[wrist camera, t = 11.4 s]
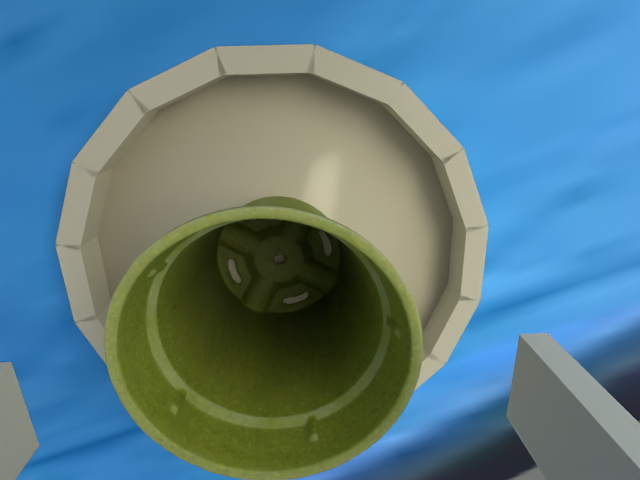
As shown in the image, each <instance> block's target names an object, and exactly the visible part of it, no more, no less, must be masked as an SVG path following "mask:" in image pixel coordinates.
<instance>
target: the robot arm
mask: <svg viewBox="0 0 640 480" xmlns="http://www.w3.org/2000/svg"><path fill="white" fill-rule="evenodd" d="M506 417H507V418H508V420H509V421H510V423H511V425H512V426H513V428H514V429H515V431H516V432H517V434H518V436H519V437H520V439H521V440H522V442H523V443H524V445H525V447H526V448H527V450H528V451H529V453H530V455H531V456H532V458H533V459H534V461H535V462H536V464H537V466H538V467H539V469H540V470H541V472H542V473H543V475H544V477H545V478H546V480H640V423H639V422H638V421H637V420H635V419H634V418H633V417H632V416H631V415H630V414H629V413H628V412H627V411H626V410H625V409H624V408H623V407H622V406H621V405H620V404H619V403H618V402H617V401H616V400H615V399H614V398H613V397H612V396H611V395H610V394H609V393H608V392H607V391H606V390H605V389H604V388H603V387H602V386H601V385H600V384H599V383H598V382H597V381H596V380H595V379H594V378H593V377H592V376H591V375H590V374H589V373H588V372H587V371H586V370H585V369H584V368H583V367H582V366H581V365H580V364H579V363H578V362H577V361H576V360H575V359H574V358H573V357H572V356H571V355H570V354H569V353H568V352H567V351H566V350H565V349H564V348H563V347H562V346H561V345H560V344H559V343H557V342H556V341H555V340H554V339H553V338H552V337H551V336H550V335H549V334H548V333H536V334H520V335H519V341H518V348H517V354H516V360H515V366H514V372H513V379H512V385H511V391H510V397H509V404H508V410H507V416H506ZM38 447H39V443H38V440H37V437H36V434H35V431H34V428H33V425H32V422H31V419H30V416H29V413H28V410H27V407H26V404H25V401H24V398H23V395H22V392H21V389H20V386H19V383H18V380H17V377H16V374H15V371H14V368H13V365H12V362H0V480H16V478H17V477H18V475H19V474H20V472H21V471H22V470H23V468H24V467H25V465H26V464H27V463H28V461H29V460H30V458H31V457H32V455H33V454H34V453H35V451H36V450H37V448H38Z"/></svg>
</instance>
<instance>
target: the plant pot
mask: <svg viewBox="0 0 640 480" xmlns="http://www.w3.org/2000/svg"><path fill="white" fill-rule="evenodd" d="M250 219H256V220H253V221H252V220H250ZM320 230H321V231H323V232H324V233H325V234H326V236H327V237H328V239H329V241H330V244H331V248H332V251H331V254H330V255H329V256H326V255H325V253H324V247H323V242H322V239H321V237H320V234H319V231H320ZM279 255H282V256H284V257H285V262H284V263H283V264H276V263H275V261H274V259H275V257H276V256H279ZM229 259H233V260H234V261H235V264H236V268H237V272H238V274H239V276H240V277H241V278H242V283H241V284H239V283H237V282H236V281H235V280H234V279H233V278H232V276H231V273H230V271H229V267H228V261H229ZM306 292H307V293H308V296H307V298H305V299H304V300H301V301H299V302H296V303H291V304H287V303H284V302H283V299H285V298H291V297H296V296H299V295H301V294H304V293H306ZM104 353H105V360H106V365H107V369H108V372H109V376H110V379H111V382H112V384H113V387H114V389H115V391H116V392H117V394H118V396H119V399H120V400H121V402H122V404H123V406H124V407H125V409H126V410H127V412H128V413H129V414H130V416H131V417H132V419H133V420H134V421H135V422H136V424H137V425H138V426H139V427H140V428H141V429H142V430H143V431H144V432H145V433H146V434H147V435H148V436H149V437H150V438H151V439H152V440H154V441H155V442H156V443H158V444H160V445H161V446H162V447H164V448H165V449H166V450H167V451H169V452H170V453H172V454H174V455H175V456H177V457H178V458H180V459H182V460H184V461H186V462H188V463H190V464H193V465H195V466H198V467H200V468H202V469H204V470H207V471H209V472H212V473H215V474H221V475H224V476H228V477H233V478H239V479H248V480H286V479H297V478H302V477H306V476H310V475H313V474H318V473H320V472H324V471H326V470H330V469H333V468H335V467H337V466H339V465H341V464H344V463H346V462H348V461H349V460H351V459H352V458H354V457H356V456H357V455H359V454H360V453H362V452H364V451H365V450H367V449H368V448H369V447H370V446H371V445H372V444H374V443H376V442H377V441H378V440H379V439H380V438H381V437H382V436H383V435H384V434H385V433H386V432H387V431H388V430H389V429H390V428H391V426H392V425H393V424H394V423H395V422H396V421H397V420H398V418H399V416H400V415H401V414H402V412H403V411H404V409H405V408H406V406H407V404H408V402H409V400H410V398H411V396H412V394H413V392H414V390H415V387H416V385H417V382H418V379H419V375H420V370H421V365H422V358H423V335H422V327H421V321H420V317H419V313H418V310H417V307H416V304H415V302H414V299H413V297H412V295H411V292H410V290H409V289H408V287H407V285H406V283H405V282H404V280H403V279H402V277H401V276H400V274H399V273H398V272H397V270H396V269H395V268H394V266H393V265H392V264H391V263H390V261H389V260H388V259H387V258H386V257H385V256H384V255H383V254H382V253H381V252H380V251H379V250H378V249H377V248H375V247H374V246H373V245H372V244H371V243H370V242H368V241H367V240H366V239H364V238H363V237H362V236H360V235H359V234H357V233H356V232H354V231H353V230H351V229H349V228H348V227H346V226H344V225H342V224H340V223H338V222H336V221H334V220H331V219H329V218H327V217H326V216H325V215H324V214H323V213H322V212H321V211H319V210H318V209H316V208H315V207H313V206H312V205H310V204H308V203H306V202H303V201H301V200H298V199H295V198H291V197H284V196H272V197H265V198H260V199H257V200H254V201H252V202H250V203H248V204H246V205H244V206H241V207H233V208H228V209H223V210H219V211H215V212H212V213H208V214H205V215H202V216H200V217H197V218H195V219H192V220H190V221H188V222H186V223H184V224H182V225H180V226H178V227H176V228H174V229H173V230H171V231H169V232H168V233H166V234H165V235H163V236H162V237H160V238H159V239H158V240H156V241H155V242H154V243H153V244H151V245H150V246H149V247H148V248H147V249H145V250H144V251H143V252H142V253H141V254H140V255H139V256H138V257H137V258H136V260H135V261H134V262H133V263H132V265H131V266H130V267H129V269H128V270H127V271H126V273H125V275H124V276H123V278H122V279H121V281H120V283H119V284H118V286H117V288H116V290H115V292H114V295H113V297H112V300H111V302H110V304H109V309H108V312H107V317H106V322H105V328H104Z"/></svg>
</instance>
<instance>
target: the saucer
mask: <svg viewBox="0 0 640 480" xmlns="http://www.w3.org/2000/svg"><path fill="white" fill-rule="evenodd" d="M272 196H284V197H291V198H295V199H298V200H301V201H303V202H306V203H308V204H310V205H312V206H313V207H315V208H316V209H318V210H319V211H321V212H322V213H323V214H324V215H325V216H326V217H327V218H329V219H331V220H334V221H336V222H338V223H340V224H342V225H344V226H346V227H348V228H349V229H351V230H353V231H354V232H356V233H357V234H359V235H360V236H362V237H363V238H364V239H366V240H367V241H368V242H370V243H371V244H372V245H373V246H374V247H375V248H377V249H378V250H379V251H380V252H381V253H382V254H383V255H384V256H385V257H386V258H387V259H388V260H389V261H390V263H391V264H392V265H393V266H394V268H395V269H396V270H397V272H398V273H399V274H400V276H401V277H402V279H403V280H404V282H405V283H406V285H407V287H408V289H409V290H410V292H411V295H412V297H413V299H414V302H415V304H416V307H417V310H418V313H419V317H420V321H421V327H422V335H423V358H422V365H421V370H420V375H419V379H418V382H417V385H416V387H415V390H416V389H417V388H418V387H419V386H420V385H422V384H423V383H424V382H425V381H426V380H427V379H429V378H430V377H431V376H432V375H433V374H434V373H436V372H437V371H438V370H439V369H440V368H441V367H443V366H444V365H445V363H446V362H447V360H448V359H449V357H450V355H451V353H452V351H453V350H454V348H455V346H456V344H457V342H458V340H459V339H460V337H461V335H462V333H463V331H464V330H465V328H466V326H467V324H468V322H469V320H470V319H471V317H472V315H473V313H474V311H475V309H476V308H477V306H478V304H479V302H480V301H479V300H481V291H482V282H483V273H484V264H485V254H486V245H487V236H488V227H489V226H487V225H488V222H487V219H486V215H485V212H484V209H483V206H482V203H481V200H480V197H479V194H478V190H477V187H476V184H475V181H474V178H473V175H472V172H471V169H470V166H469V162H468V159H467V156H466V153H465V150H464V149H463V146H462V145H461V144H460V143H459V142H458V141H457V140H456V139H455V138H454V137H453V135H452V134H451V133H450V132H449V131H448V130H447V129H446V128H445V127H444V126H443V125H442V123H441V122H440V121H439V120H438V119H437V118H436V117H435V116H434V115H433V114H432V113H431V111H430V110H429V109H428V108H427V107H426V106H425V105H424V104H423V103H422V102H421V100H420V99H419V98H418V97H417V96H416V95H415V94H414V93H413V92H412V91H411V90H410V88H409V87H408V86H407V85H406V84H405V83H402V81H400V80H398V79H395V78H393V77H391V76H388V75H386V74H384V73H381V72H379V71H377V70H374V69H372V68H370V67H367V66H365V65H362V64H360V63H358V62H355V61H353V60H351V59H348V58H346V57H344V56H341V55H339V54H337V53H334V52H332V51H330V50H327V49H325V48H323V47H320V46H318V45H315V47H314V44H303V45H259V46H216V48H215V47H213V48H211V49H209V50H207V51H205V52H203V53H201V54H199V55H197V56H195V57H193V58H191V59H189V60H187V61H185V62H183V63H181V64H179V65H177V66H175V67H173V68H171V69H169V70H167V71H165V72H163V73H160V74H158V75H156V76H154V77H152V78H150V79H148V80H146V81H144V82H142V83H140V84H138V85H136V86H134V87H132V88H130V89H129V91H126V92H125V94H124V95H123V96H122V98H121V99H120V100H119V102H118V103H117V104H116V105H115V107H114V108H113V109H112V111H111V112H110V113H109V114H108V116H107V117H106V118H105V120H104V121H103V122H102V124H101V125H100V126H99V127H98V129H97V130H96V131H95V133H94V134H93V135H92V136H91V138H90V139H89V140H88V142H87V143H86V144H85V146H84V147H83V148H82V149H81V151H80V152H79V153H78V155H77V156H76V157H75V158H74V160H73V163H71V168H70V173H69V178H68V183H67V188H66V193H65V198H64V203H63V208H62V213H61V218H60V223H59V228H58V233H57V238H56V243H55V244H57V245H56V250H57V254H58V258H59V262H60V266H61V270H62V274H63V278H64V282H65V286H66V290H67V294H68V298H69V302H70V306H71V310H72V314H73V318H74V322H76V321H77V322H76V323H75V324H76V325H77V326H78V328H79V329H80V330H81V332H82V333H83V334H84V336H85V337H86V338H87V340H88V341H89V342H90V344H91V345H92V346H93V348H94V349H95V350H96V352H97V353H98V354H99V356H100V357H101V358H102V360H103V361H104V362H105V363H106V360H105V353H104V328H105V322H106V317H107V312H108V309H109V304H110V302H111V300H112V297H113V295H114V292H115V290H116V288H117V286H118V284H119V283H120V281H121V279H122V278H123V276H124V275H125V273H126V271H127V270H128V269H129V267H130V266H131V265H132V263H133V262H134V261H135V260H136V258H137V257H138V256H139V255H140V254H141V253H142V252H143V251H144V250H145V249H147V248H148V247H149V246H150V245H151V244H153V243H154V242H155V241H156V240H158V239H159V238H160V237H162V236H163V235H165V234H166V233H168V232H169V231H171V230H173V229H174V228H176V227H178V226H180V225H182V224H184V223H186V222H188V221H190V220H192V219H195V218H197V217H200V216H202V215H205V214H208V213H212V212H215V211H219V210H223V209H228V208H233V207H241V206H244V205H246V204H248V203H250V202H252V201H254V200H257V199H260V198H265V197H272ZM250 220H252V221H253V220H256V219H250ZM319 234H320V237H321V239H322V242H323V247H324V253H325V255H326V256H329V255H330V254H331V251H332V248H331V244H330V241H329V239H328V237H327V236H326V234H325V233H324V232H323V231H321V230H320V231H319ZM274 261H275V263H276V264H283V263H284V262H285V257H284V256H282V255H279V256H276V257H275V259H274ZM228 267H229V271H230V273H231V276H232V278H233V279H234V280H235V281H236V282H237V283H239V284H241V283H242V278H241V277H240V276H239V274H238V272H237V268H236V264H235V261H234V260H233V259H229V261H228ZM307 296H308V293H307V292H306V293H304V294H301V295H299V296H296V297H291V298H285V299H283V302H284V303H287V304H291V303H296V302H299V301H301V300H304V299H305V298H307ZM415 390H414V391H415Z"/></svg>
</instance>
